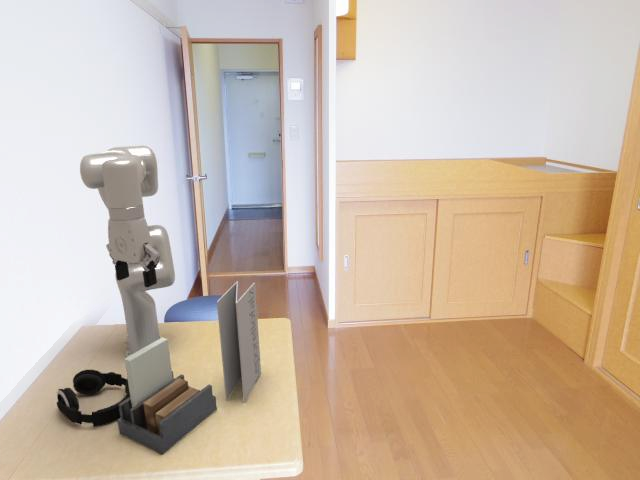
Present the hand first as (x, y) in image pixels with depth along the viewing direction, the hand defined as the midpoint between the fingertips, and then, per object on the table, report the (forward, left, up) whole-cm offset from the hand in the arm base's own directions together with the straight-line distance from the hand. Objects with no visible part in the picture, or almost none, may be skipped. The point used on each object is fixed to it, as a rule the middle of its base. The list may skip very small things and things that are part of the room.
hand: (136, 281), depth 112 cm
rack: (+5, 0, -38) cm, 39 cm away
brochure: (+13, +21, -39) cm, 46 cm away
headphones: (-17, -5, -39) cm, 43 cm away
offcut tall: (+5, 0, -38) cm, 39 cm away
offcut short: (+9, 0, -38) cm, 39 cm away
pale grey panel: (0, 0, -38) cm, 38 cm away
